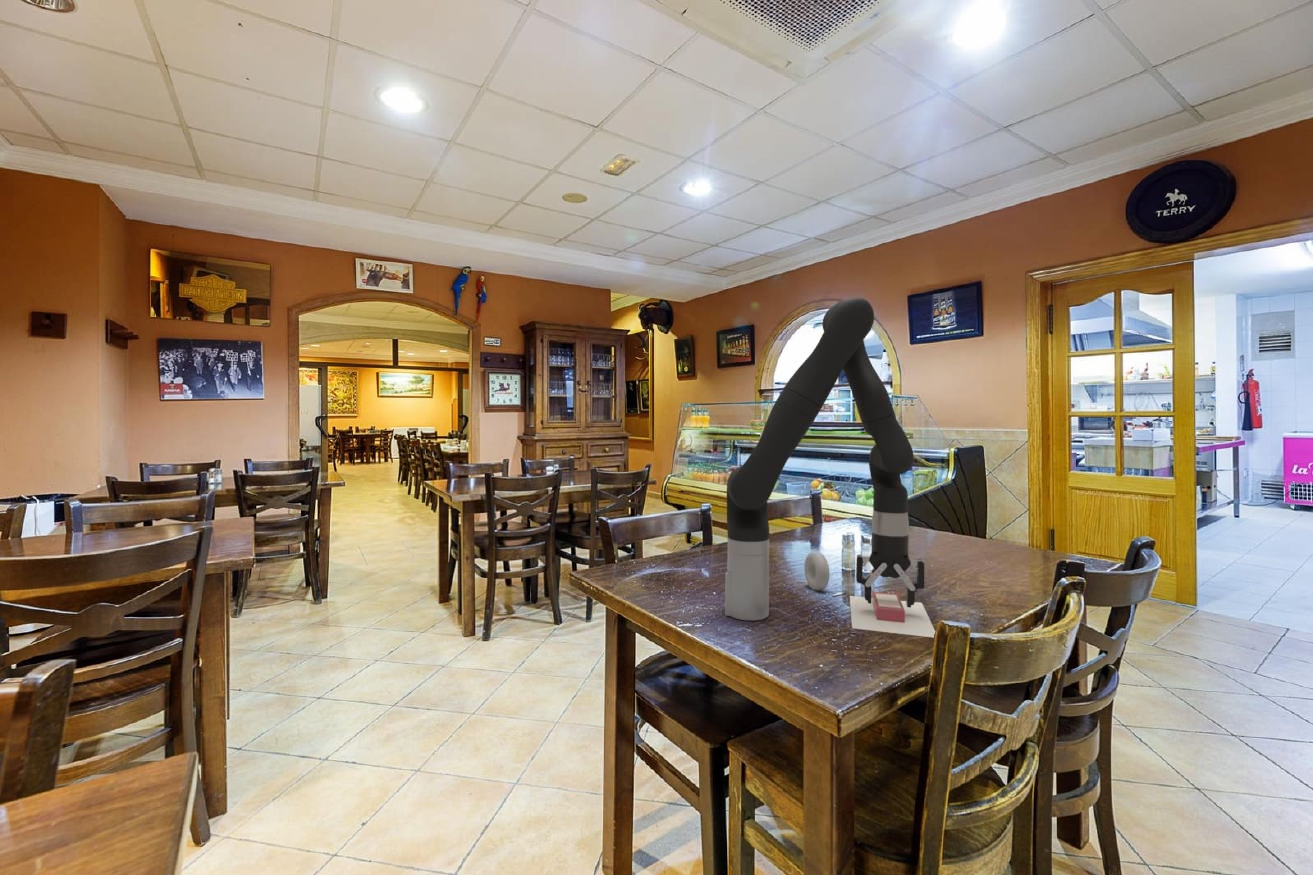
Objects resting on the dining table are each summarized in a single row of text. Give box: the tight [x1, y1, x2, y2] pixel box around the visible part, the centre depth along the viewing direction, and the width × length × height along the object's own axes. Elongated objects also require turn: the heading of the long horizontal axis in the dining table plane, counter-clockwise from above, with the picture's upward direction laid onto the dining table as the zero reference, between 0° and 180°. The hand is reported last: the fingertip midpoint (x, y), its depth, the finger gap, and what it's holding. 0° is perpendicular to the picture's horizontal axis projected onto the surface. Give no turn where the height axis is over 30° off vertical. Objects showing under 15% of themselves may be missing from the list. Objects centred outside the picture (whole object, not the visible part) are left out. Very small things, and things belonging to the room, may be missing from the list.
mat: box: [849, 595, 936, 639], centre depth 120 cm, size 16×22×1 cm
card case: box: [871, 591, 905, 623], centre depth 121 cm, size 6×3×12 cm
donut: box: [803, 550, 830, 592], centre depth 139 cm, size 10×4×10 cm, turn 9°
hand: (889, 604), depth 121 cm, fingers open, 7 cm apart
